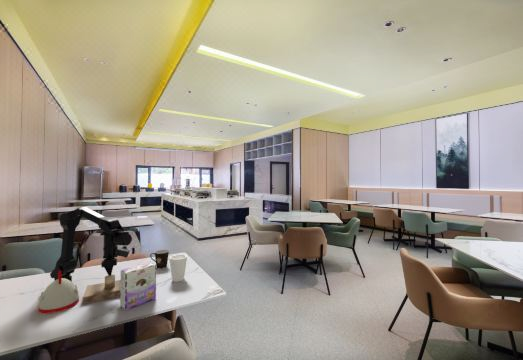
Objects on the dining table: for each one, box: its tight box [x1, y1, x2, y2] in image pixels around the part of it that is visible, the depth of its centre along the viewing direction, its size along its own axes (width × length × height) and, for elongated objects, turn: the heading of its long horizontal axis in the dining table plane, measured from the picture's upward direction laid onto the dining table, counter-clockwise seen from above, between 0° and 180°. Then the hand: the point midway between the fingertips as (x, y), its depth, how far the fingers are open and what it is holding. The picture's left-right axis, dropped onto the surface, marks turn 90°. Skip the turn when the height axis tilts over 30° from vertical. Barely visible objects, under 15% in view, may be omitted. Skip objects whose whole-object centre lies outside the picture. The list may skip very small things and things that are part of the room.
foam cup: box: [168, 254, 188, 283], centre depth 136 cm, size 10×9×13 cm
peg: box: [104, 274, 116, 289], centre depth 120 cm, size 4×4×8 cm
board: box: [82, 279, 121, 304], centre depth 119 cm, size 16×14×3 cm
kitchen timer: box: [37, 271, 80, 315], centre depth 107 cm, size 14×14×15 cm
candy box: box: [119, 262, 157, 311], centre depth 110 cm, size 14×6×16 cm, turn 141°
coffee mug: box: [149, 249, 170, 270], centre depth 157 cm, size 12×9×10 cm
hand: (109, 275), depth 120 cm, fingers closed
